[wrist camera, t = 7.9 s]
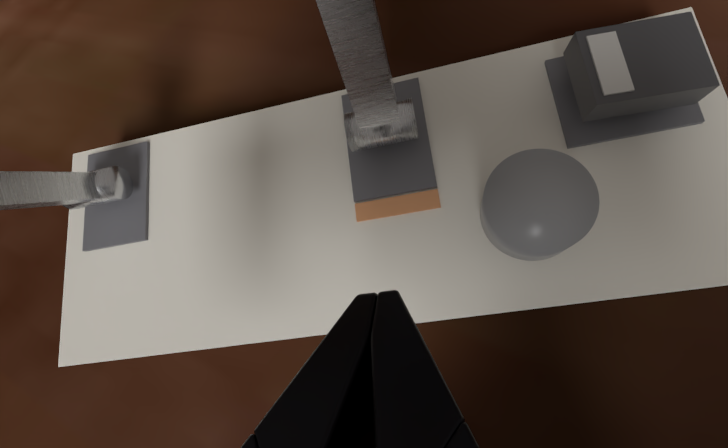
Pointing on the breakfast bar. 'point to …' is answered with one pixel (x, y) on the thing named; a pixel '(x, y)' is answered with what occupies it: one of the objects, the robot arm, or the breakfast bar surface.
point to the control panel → (385, 213)
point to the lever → (64, 188)
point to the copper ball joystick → (366, 76)
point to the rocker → (639, 67)
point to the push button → (538, 204)
